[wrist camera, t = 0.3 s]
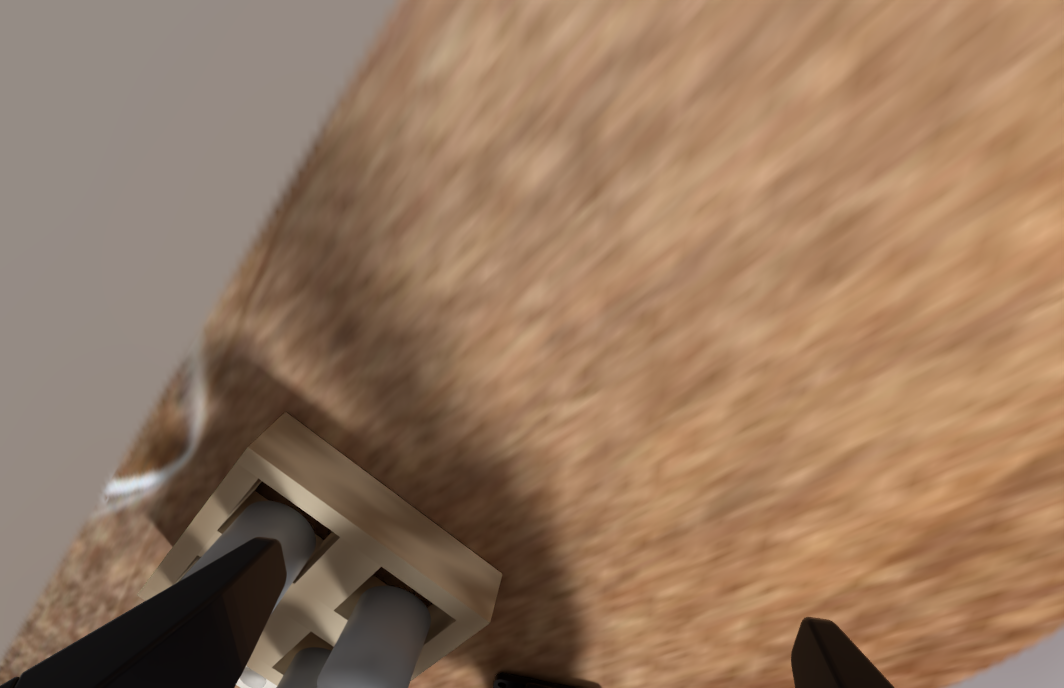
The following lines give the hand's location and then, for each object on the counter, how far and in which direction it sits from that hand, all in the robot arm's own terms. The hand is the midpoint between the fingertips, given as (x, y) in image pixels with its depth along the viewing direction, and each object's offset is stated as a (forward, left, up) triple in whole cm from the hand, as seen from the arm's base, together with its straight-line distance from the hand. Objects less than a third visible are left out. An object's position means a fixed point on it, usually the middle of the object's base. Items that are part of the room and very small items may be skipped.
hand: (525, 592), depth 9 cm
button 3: (-17, +7, -11) cm, 21 cm away
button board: (-17, +12, -14) cm, 25 cm away
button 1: (-13, +13, -11) cm, 21 cm away
